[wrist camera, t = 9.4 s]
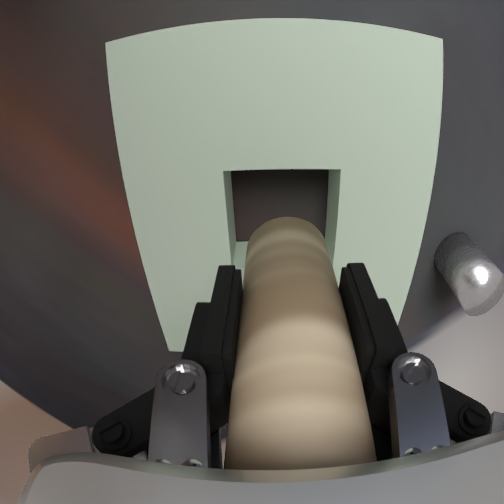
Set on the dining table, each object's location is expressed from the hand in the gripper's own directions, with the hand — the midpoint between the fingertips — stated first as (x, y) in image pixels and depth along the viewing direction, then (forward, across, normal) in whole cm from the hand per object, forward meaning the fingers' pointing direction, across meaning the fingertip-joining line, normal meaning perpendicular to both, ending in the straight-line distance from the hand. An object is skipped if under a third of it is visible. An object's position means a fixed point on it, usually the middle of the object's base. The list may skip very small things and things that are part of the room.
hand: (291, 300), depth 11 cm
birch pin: (+3, 0, 0) cm, 3 cm away
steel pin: (+9, -13, +4) cm, 16 cm away
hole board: (+9, 0, 0) cm, 9 cm away
